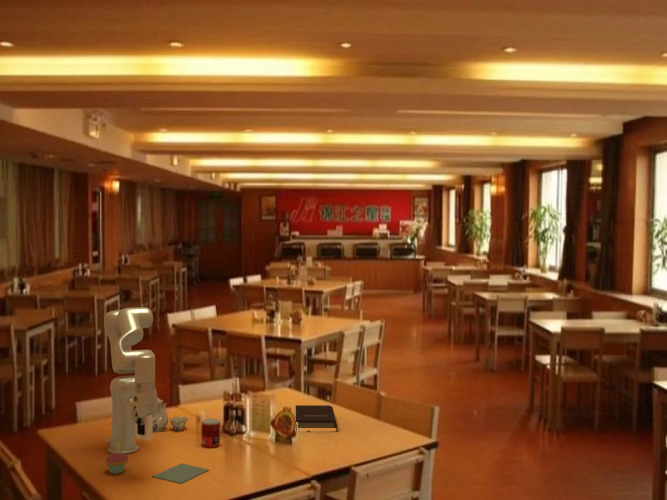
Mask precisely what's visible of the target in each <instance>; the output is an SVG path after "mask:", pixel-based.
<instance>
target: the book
mask: <svg viewBox="0 0 667 500" xmlns="http://www.w3.org/2000/svg"><path fill="white" fill-rule="evenodd" d="M295 415H296V420H295V423H296V422H298V428H337V429H338V423H337V420H336V416H335V411H334V408H333V406H332V405H330V404H329V405H319V404H318V405H315V404H314V405H311V404H310V405H309V404H306V405H305V404H304V405H302V404H301V405H298V404H295Z"/></svg>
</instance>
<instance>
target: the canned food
mask: <svg viewBox="0 0 667 500" xmlns="http://www.w3.org/2000/svg"><path fill="white" fill-rule="evenodd" d="M220 442H221V420H220V419H218V418H205V419H203V420H202V421H201V446H202V448H205V449H215V448H218V447H220Z"/></svg>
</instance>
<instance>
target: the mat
mask: <svg viewBox="0 0 667 500" xmlns="http://www.w3.org/2000/svg"><path fill="white" fill-rule="evenodd" d="M209 471H210V469H208V468H204V467H199V466H196V465H195V466H194V465H190V464H186V463H179V464H177V465H175V466H173V467H171V468H170V467H169V468H168V469H165V470H163V471H161V472H159V473H156V474H154V475H152V478H154V479H155V478H156V479H159V480H163V481H168V482H171V483H176V484H179V485H180V484H181V485H182V484H184V483H186V482H188V481H190V480H193V479H194V478H196V477H198V476H201V475H203V474H205V473H207V472H209Z"/></svg>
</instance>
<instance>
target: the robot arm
mask: <svg viewBox="0 0 667 500" xmlns="http://www.w3.org/2000/svg"><path fill="white" fill-rule="evenodd" d="M103 319H104V320H103V323H104V324H103V325H104V330H105V333H106V334H107V335H106V336H107V337H108V339H109V340H108V341H109V344H110V354H111V366H112V370H113V372H114V373H116V374H132V373H134V375H122V376H117V377H115V378H113V379H112V380H111V381H110V386H109V389H110V395H111V396H110V397H111V407H112V408H111V411H112V412H111V415H112V416H111V418H112V419H111V421H112V422H111V425H112V426H111V436H108V439H106V443H108V444H110V445H109V446H108V447H107V451H108V453H110V454H113V453H117V442H118V440H119V453H122V454H125V455H126V454H132V453H134V452H137V451H138V450H139V449H140V446H139V445H138V444H137V443H136V424H137V434H139V435H145V425H143V424H144V418H145V417H147V416H148V414H151V413H153V417H154V415H155V414H156V413H157V412H158V398H159V397H158V391H157V388H156V385H155V384H156V356H155V353H154V352H153V351H152V350H151V349H138V350H137V349H135V350H133V349H132V346H135V345H137V344H138V343H140V342H141V341H142V340H143V337H144V329H147V328H150V327H151V326H152V325H153V322H154V316H153V312H152V310H151V309H150V308H149V307H146V306H145V307H144V306H141V307H140V306H139V307H125V308H122V309H115V310H111V311H108V312H106V314H105V315H104V317H103ZM130 399H132V401H131V400H130ZM140 418H141V420H140Z"/></svg>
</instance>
